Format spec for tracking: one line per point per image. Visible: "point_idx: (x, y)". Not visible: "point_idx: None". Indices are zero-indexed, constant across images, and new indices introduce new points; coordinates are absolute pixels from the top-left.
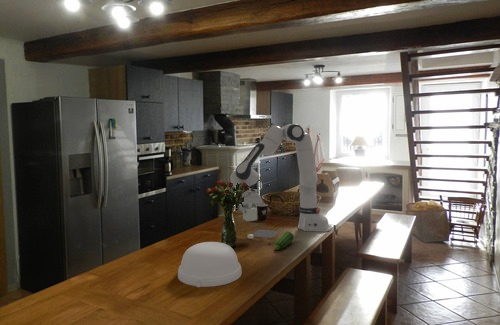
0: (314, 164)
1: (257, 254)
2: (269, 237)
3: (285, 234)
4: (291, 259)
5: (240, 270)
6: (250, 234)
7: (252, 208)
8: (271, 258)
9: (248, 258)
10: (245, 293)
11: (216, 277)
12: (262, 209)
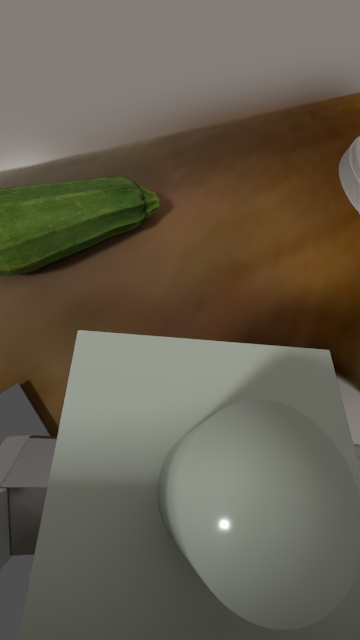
0: None
1: (242, 230)
2: (19, 399)
3: (39, 190)
4: (158, 140)
5: (355, 139)
6: None
7: (175, 397)
8: (213, 178)
9: (290, 220)
10: (353, 103)
11: None
12: None
